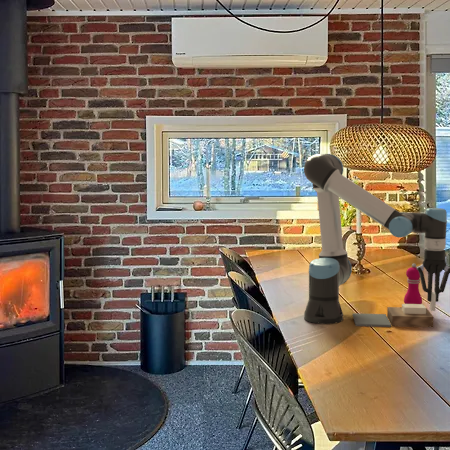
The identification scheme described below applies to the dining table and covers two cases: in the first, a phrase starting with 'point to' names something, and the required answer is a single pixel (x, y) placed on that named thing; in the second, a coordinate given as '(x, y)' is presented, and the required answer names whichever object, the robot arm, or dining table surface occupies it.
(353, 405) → the dining table surface
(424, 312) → the ceramic tile
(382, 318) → the charcoal mat
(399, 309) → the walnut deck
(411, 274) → the pepper mill
